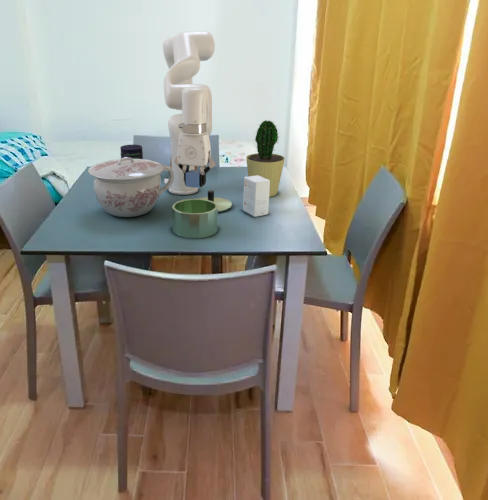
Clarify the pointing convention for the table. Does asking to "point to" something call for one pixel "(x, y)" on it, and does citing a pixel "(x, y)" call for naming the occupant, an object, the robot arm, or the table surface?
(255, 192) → the small box
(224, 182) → the table surface
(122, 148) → the storage jar
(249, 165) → the potted cactus
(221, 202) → the lid
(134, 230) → the table surface
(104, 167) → the chamber pot
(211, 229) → the pot
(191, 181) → the blue cube
